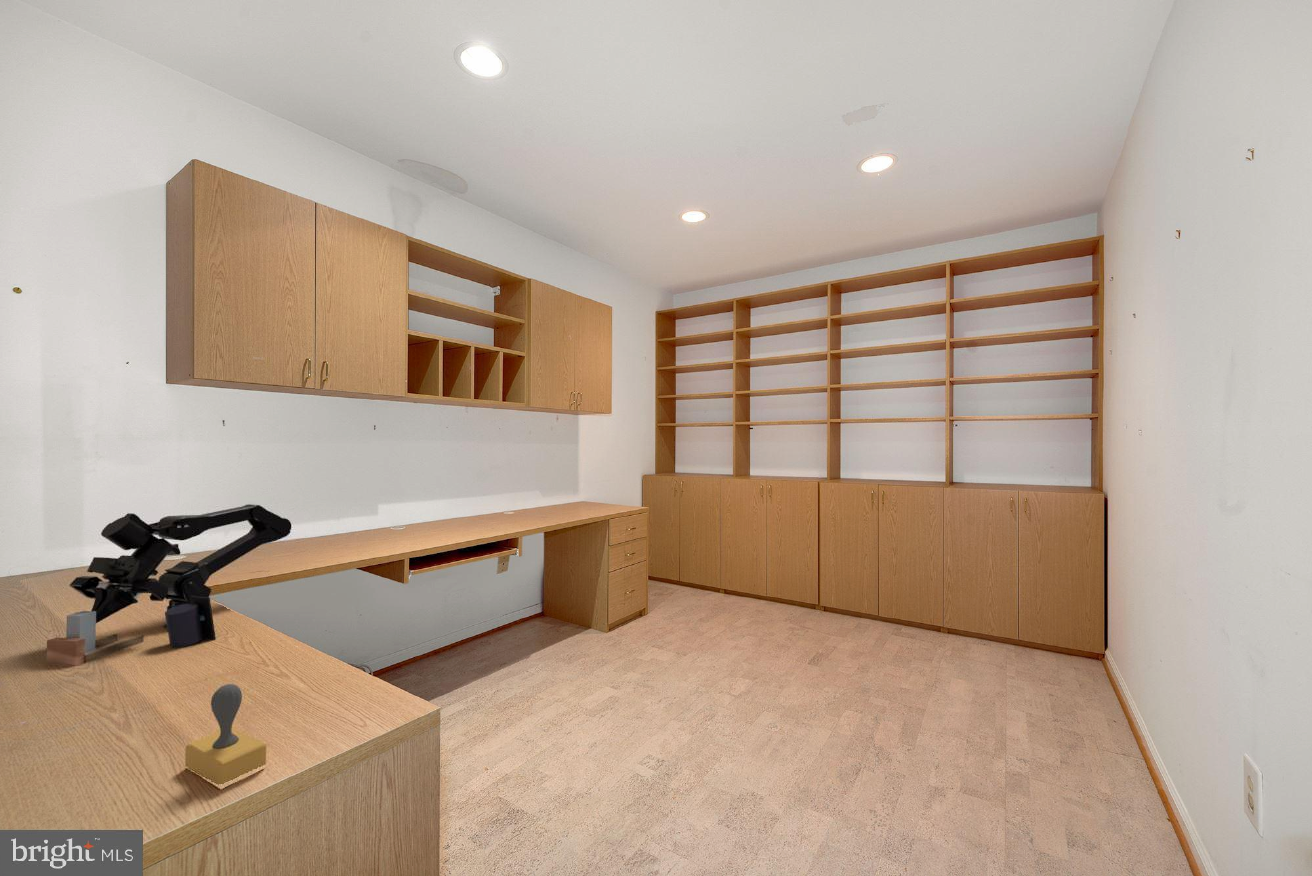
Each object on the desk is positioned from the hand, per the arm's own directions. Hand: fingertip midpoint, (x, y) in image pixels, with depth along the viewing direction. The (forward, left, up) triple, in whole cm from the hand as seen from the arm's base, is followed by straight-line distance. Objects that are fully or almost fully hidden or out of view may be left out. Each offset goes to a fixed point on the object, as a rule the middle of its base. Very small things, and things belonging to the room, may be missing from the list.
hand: (90, 623), depth 114 cm
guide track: (0, 0, -7) cm, 7 cm away
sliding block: (0, +2, -7) cm, 7 cm away
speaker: (-16, -4, -7) cm, 18 cm away
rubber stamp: (-54, +48, -7) cm, 72 cm away
